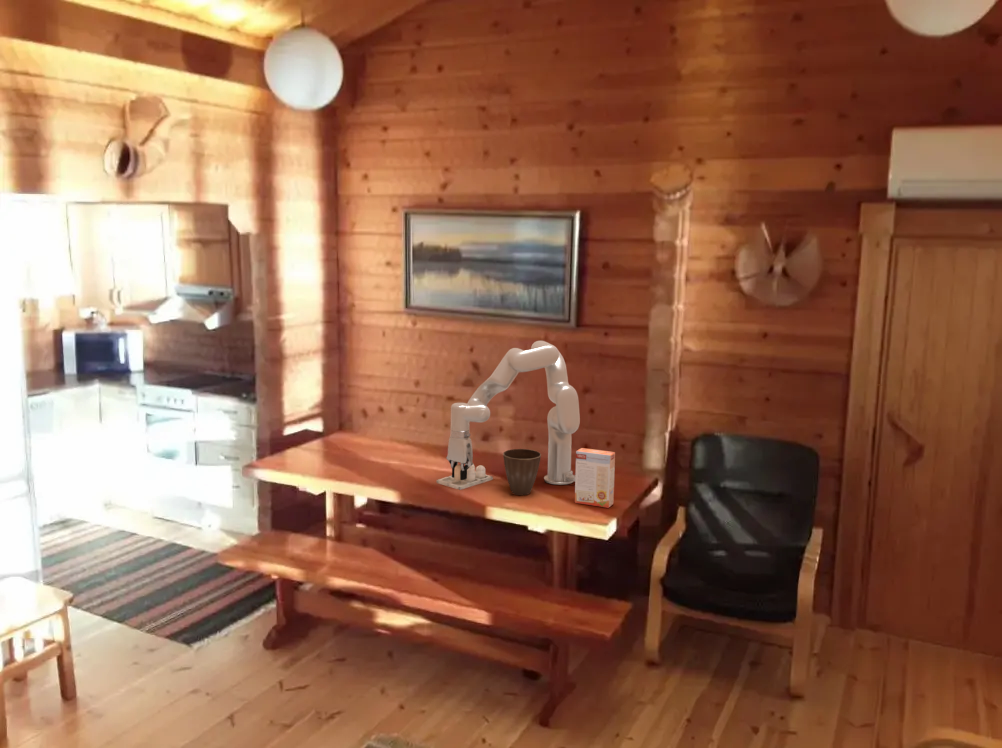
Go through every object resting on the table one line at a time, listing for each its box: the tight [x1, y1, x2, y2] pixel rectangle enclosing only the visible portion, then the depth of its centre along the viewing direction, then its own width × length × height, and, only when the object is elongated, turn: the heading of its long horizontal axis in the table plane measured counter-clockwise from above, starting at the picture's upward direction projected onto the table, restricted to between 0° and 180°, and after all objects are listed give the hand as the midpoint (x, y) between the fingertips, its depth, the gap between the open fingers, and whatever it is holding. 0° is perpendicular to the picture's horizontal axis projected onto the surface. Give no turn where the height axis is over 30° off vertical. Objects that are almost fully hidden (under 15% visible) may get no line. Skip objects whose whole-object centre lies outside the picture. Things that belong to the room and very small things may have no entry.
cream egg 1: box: [465, 468, 476, 483], centre depth 355 cm, size 4×4×6 cm
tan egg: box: [454, 463, 462, 481], centre depth 350 cm, size 4×4×6 cm
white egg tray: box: [436, 471, 494, 491], centre depth 358 cm, size 13×19×2 cm
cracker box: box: [574, 447, 616, 509], centre depth 333 cm, size 14×6×21 cm, turn 63°
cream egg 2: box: [475, 464, 486, 479], centre depth 360 cm, size 4×4×6 cm
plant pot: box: [502, 448, 542, 496], centre depth 346 cm, size 15×15×16 cm
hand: (459, 477), depth 351 cm, fingers closed on tan egg, 4 cm apart
